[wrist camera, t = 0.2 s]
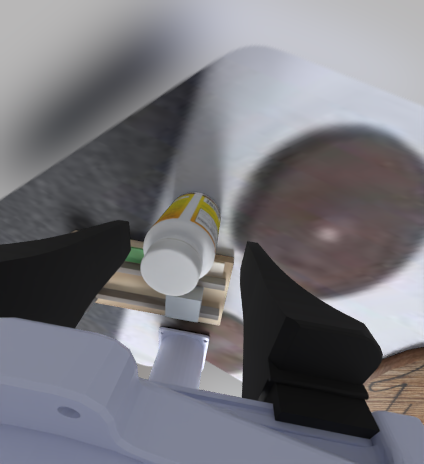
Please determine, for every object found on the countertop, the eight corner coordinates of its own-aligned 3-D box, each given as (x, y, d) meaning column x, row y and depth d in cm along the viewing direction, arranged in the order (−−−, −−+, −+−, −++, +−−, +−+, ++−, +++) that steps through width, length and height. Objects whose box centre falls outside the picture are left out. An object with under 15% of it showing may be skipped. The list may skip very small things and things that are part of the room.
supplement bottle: (167, 228, 23) (123, 291, 14) (177, 183, 20) (131, 224, 11) (212, 243, 23) (198, 314, 14) (228, 200, 21) (222, 253, 12)
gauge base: (220, 318, 29) (217, 348, 25) (89, 294, 30) (66, 319, 26) (233, 257, 24) (233, 282, 20) (75, 230, 24) (44, 249, 21)
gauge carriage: (201, 303, 26) (197, 322, 24) (171, 298, 26) (165, 316, 24) (207, 262, 23) (203, 279, 20) (174, 256, 23) (166, 272, 21)
